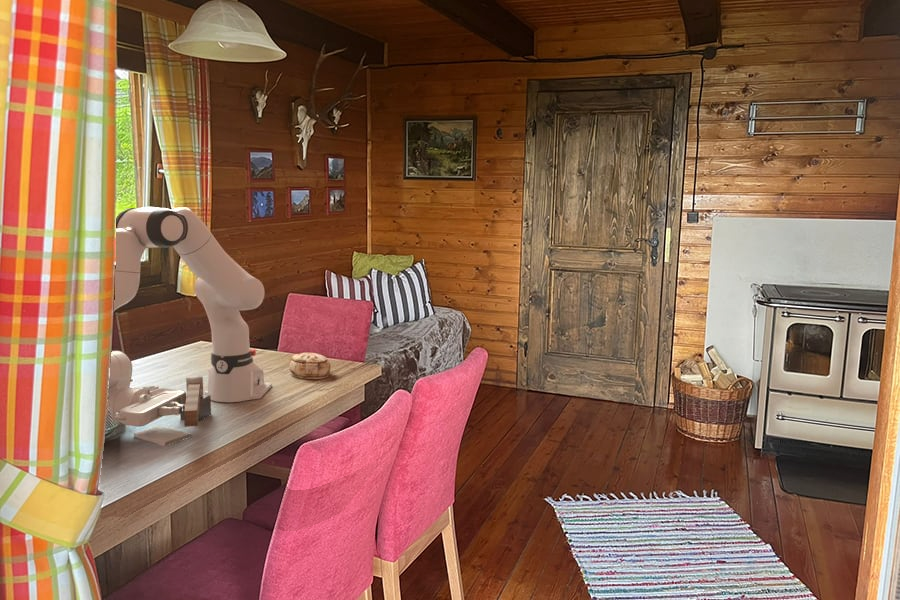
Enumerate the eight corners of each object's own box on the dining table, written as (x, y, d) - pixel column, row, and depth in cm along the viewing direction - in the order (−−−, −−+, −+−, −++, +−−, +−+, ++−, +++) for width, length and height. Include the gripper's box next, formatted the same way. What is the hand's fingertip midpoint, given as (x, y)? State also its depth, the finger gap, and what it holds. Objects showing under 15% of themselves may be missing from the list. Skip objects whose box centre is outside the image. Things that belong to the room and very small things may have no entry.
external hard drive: (164, 448, 183) (133, 438, 189) (191, 439, 189) (160, 430, 196) (164, 442, 182) (133, 432, 189) (191, 433, 189) (160, 424, 196)
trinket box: (327, 381, 245) (327, 358, 244) (283, 380, 245) (283, 357, 244) (334, 371, 258) (334, 349, 257) (293, 370, 259) (292, 348, 257)
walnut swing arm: (187, 393, 205) (186, 376, 205) (203, 392, 207) (202, 375, 206) (181, 427, 177) (180, 407, 177) (200, 425, 179) (199, 406, 178)
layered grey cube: (192, 413, 209) (191, 393, 208) (211, 414, 207) (210, 394, 206) (180, 419, 203) (179, 399, 202) (200, 421, 202) (199, 400, 201)
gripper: (107, 405, 177) (157, 410, 174) (157, 383, 197) (203, 387, 194) (108, 430, 178) (158, 435, 175) (158, 405, 198) (203, 409, 195)
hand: (182, 410), depth 185 cm, fingers closed
